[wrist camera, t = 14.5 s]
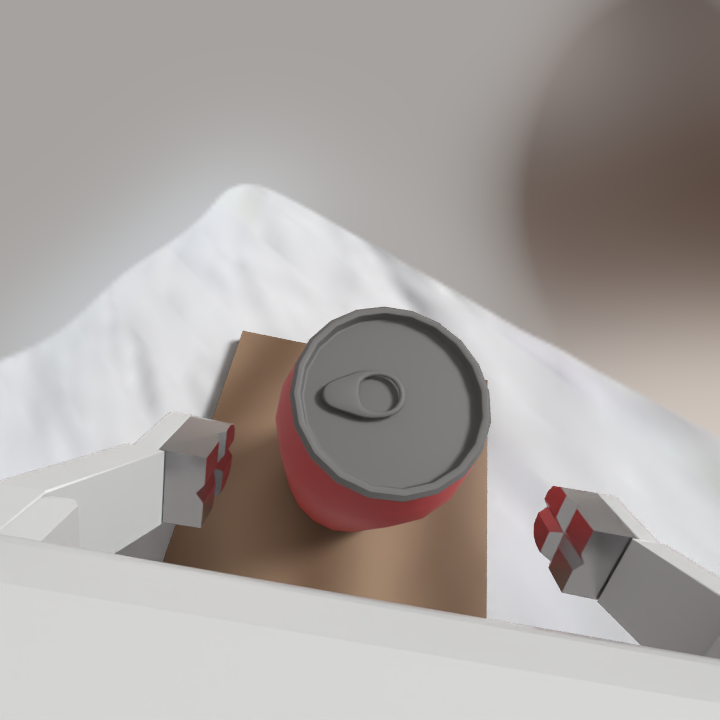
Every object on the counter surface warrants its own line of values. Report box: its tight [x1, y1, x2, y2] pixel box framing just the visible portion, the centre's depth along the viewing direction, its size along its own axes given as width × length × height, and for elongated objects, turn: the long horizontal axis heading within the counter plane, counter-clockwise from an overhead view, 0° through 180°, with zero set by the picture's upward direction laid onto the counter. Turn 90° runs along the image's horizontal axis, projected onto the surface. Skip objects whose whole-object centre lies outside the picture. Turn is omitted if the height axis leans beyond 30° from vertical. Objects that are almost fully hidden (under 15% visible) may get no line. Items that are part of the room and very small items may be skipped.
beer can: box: [275, 307, 491, 532], centre depth 16 cm, size 7×7×12 cm
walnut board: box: [163, 331, 487, 618], centre depth 21 cm, size 16×14×1 cm
